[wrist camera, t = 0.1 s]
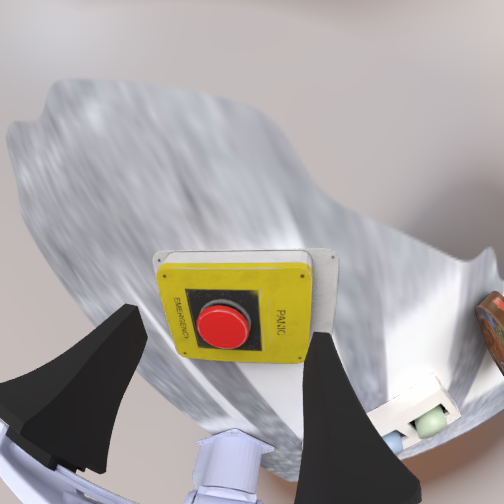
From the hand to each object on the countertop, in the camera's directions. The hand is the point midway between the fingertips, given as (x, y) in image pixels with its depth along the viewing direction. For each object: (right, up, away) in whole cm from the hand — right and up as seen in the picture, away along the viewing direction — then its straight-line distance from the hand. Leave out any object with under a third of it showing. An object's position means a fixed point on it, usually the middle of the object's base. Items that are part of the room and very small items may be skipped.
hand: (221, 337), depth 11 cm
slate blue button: (+19, -21, +16) cm, 33 cm away
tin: (+28, -4, +10) cm, 30 cm away
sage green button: (+24, -17, +14) cm, 32 cm away
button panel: (+19, -21, +18) cm, 33 cm away
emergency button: (+1, 0, +12) cm, 12 cm away
